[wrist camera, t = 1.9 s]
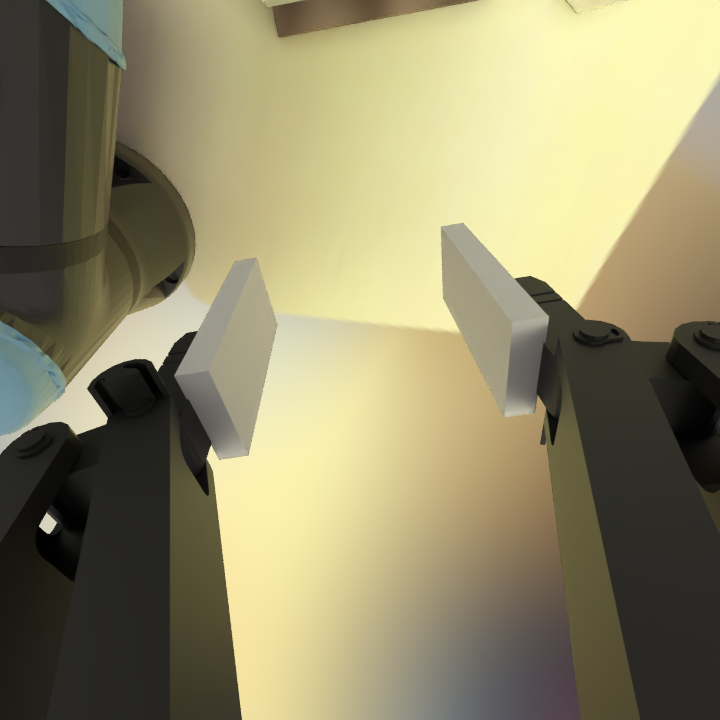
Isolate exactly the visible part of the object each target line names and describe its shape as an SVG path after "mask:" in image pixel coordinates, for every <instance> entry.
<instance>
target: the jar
mask: <svg viewBox="0 0 720 720" xmlns="http://www.w3.org/2000/svg"><path fill="white" fill-rule="evenodd" d="M567 1H568V3H569V4H570V5H571V6H572V8H573V9H574V10H575V11H576V12H577V13H583V12H587V11H591V10H594V9H598V8H602V7H606V6H609V5H613V4H617V3H621V2H624V1H628V0H567Z"/></svg>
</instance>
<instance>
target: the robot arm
mask: <svg viewBox="0 0 720 720" xmlns="http://www.w3.org/2000/svg"><path fill="white" fill-rule="evenodd" d="M122 26H123V0H0V436H1V435H5V434H11V433H14V432H16V431H18V430H20V429H22V428H23V427H25V426H26V425H28V424H29V423H30V422H32V421H33V420H34V419H35V418H36V417H37V416H38V415H39V414H40V413H41V412H42V411H44V410H45V409H46V408H47V407H48V406H49V405H50V404H51V403H53V402H55V401H56V400H57V399H59V398H60V397H61V396H62V394H63V393H64V392H65V387H66V386H67V385H68V384H69V383H70V382H71V381H72V379H73V378H74V377H75V376H76V374H77V373H78V372H79V371H80V370H81V369H82V367H83V366H84V365H85V364H86V362H87V361H88V360H89V359H90V358H91V357H92V356H93V354H94V353H95V352H96V351H97V350H98V348H99V347H100V346H101V345H102V344H103V343H104V341H105V340H106V339H107V338H108V337H109V336H110V334H111V333H112V332H113V331H114V329H116V327H117V326H118V325H119V324H120V323H121V321H122V320H123V319H124V318H125V316H126V315H129V314H131V313H134V312H137V311H140V310H143V309H146V308H148V307H151V306H154V305H156V304H158V303H160V302H162V301H163V300H164V299H166V298H167V297H169V296H170V295H171V294H172V293H173V292H174V291H175V290H176V289H177V288H178V287H179V285H180V284H181V283H182V281H183V280H184V279H185V277H186V276H187V274H188V272H189V270H190V268H191V265H192V262H193V258H194V252H195V236H194V230H193V225H192V222H191V218H190V216H189V213H188V211H187V208H186V206H185V204H184V202H183V200H182V199H181V197H180V195H179V194H178V192H177V191H176V189H175V188H174V187H173V185H172V184H171V183H170V182H169V180H168V179H167V178H166V177H165V176H164V175H163V174H162V173H161V172H160V171H159V170H158V169H157V168H156V167H155V166H154V165H153V164H151V163H150V162H149V161H148V160H146V159H145V158H144V157H142V156H141V155H139V154H138V153H136V152H135V151H133V150H131V149H130V148H128V147H126V146H124V145H122V144H120V143H117V142H116V131H117V119H118V108H119V97H120V86H121V75H122V70H125V71H126V59H125V57H124V55H123V53H122ZM441 245H442V279H443V299H444V301H445V303H446V305H447V307H448V309H449V311H450V313H451V314H452V316H453V318H454V320H455V322H456V324H457V326H458V328H459V330H460V332H461V334H462V336H463V338H464V340H465V342H466V344H467V346H468V348H469V350H470V352H471V353H472V355H473V357H474V359H475V361H476V363H477V365H478V367H479V369H480V371H481V373H482V375H483V377H484V379H485V381H486V383H487V385H488V387H489V389H490V391H491V393H492V395H493V396H494V399H495V401H496V402H497V405H498V406H499V408H500V410H501V412H502V414H503V416H504V417H510V416H517V415H524V414H531V413H535V409H536V402H537V396H539V397H540V399H541V400H542V402H543V404H544V405H545V406H546V413H545V419H544V425H543V430H542V436H541V442H540V444H542V445H545V443H547V451H548V459H549V468H550V475H551V484H552V492H553V500H554V508H555V516H556V525H557V532H558V541H559V549H560V557H561V564H562V572H563V581H564V589H565V598H566V605H567V614H568V621H569V630H570V638H571V646H572V654H573V662H574V671H575V679H576V687H577V695H578V703H579V711H580V719H581V720H720V322H717V323H716V322H713V321H705V322H690V323H686V324H682V325H680V326H679V327H677V328H676V329H675V330H674V333H673V336H672V339H671V341H670V342H640V341H639V342H638V341H631V340H630V337H629V336H628V335H627V333H626V332H625V331H624V330H622V329H621V328H619V327H617V326H615V325H613V324H609V323H606V322H602V321H595V320H585V319H584V318H583V317H582V316H581V315H580V314H579V313H578V312H576V311H575V310H574V309H573V308H572V307H571V306H570V305H569V304H568V303H567V302H566V301H565V300H562V297H561V296H560V295H558V294H557V293H555V291H554V290H553V289H552V288H551V287H550V286H549V285H548V284H547V283H546V282H544V281H541V280H539V279H536V278H534V277H532V276H528V277H521V278H515V279H514V278H513V277H512V276H511V275H510V274H509V273H508V271H507V270H506V269H505V268H504V267H503V266H502V265H501V264H500V263H499V262H498V261H497V259H496V258H495V257H494V256H493V255H492V254H491V253H490V252H489V251H488V250H487V249H486V247H485V246H484V245H483V244H482V243H481V242H480V241H479V240H478V239H477V238H476V237H475V236H474V234H473V233H472V232H471V231H470V230H469V229H468V228H467V227H466V226H465V225H464V224H463V223H460V224H454V225H448V226H442V227H441ZM276 328H277V322H276V319H275V316H274V312H273V309H272V306H271V303H270V300H269V296H268V293H267V290H266V287H265V284H264V281H263V277H262V274H261V271H260V268H259V265H258V261H257V258H252V259H246V260H240V261H235V262H234V264H233V266H232V268H231V270H230V272H229V274H228V276H227V277H226V279H225V281H224V283H223V285H222V287H221V289H220V291H219V293H218V294H217V296H216V298H215V300H214V302H213V304H212V306H211V308H210V309H209V312H208V313H207V315H206V317H205V319H204V321H203V323H202V325H201V327H200V328H199V330H198V331H196V332H190V333H186V334H185V335H184V336H183V337H182V338H180V339H179V340H178V341H177V342H176V343H174V345H173V347H172V348H171V350H170V352H169V354H168V356H167V357H166V359H165V360H164V362H163V365H162V366H161V367H160V369H159V370H158V372H157V370H156V369H155V367H154V365H153V364H152V362H151V361H148V360H146V359H135V360H130V361H126V362H123V363H120V364H118V365H115V366H113V367H111V368H109V369H107V370H106V371H104V372H102V373H101V374H99V375H98V376H97V377H96V378H95V379H94V380H93V381H92V382H91V383H90V385H89V386H88V388H87V389H88V391H89V392H90V393H91V395H92V396H93V398H94V399H95V400H96V402H97V403H98V404H99V406H100V407H101V409H102V410H103V412H104V413H105V414H106V416H107V417H108V420H107V424H106V425H103V426H100V427H98V428H95V429H92V430H89V431H86V432H84V433H81V434H78V435H76V434H75V433H74V432H73V431H72V429H71V428H70V427H69V426H68V424H65V423H62V422H54V423H48V424H45V425H42V426H37V427H35V428H33V429H31V430H29V431H27V432H25V433H23V434H22V435H21V436H20V437H19V438H17V439H16V440H14V441H13V442H12V443H11V444H10V445H9V446H8V447H7V448H6V449H5V450H4V451H3V452H2V453H1V455H0V720H242V717H241V708H240V700H239V692H238V683H237V675H236V666H235V657H234V649H233V640H232V631H231V623H230V614H229V605H228V598H227V588H226V580H225V572H224V563H223V554H222V545H221V538H220V529H219V520H218V511H217V503H216V494H215V486H214V477H213V471H212V468H211V466H210V464H209V462H208V461H207V459H206V458H207V455H208V452H209V449H210V446H211V445H212V447H213V449H214V451H215V453H216V455H217V457H218V458H219V460H221V459H228V458H234V457H240V456H247V455H249V450H250V446H251V441H252V437H253V432H254V428H255V423H256V419H257V414H258V410H259V405H260V400H261V396H262V392H263V386H264V383H265V378H266V373H267V369H268V364H269V360H270V355H271V351H272V347H273V342H274V337H275V333H276ZM46 512H47V513H48V514H49V515H50V516H51V517H52V518H53V519H54V520H55V521H56V522H57V524H56V526H55V528H54V529H53V531H52V532H51V533H50V534H47V533H46V532H44V531H43V530H42V529H41V528H40V527H39V525H40V523H41V521H42V519H43V518H44V516H45V514H46Z"/></svg>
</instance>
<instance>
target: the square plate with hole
mask: <svg viewBox="0 0 720 720" xmlns="http://www.w3.org/2000/svg"><path fill="white" fill-rule="evenodd" d="M261 1H262V2H263V4H264V5H265V6H266V7H272V6H277V5H282V4H287V3H293V2H298V1H303V0H261Z"/></svg>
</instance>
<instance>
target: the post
mask: <svg viewBox="0 0 720 720" xmlns="http://www.w3.org/2000/svg"><path fill="white" fill-rule="evenodd" d="M471 1H476V0H303V1H298V2H293V3H287V4H282V5H277V6H273V11H274V16H275V21H276V26H277V30H278V35H279V37H285V36H291V35H296V34H301V33H307V32H312V31H317V30H322V29H328V28H333V27H338V26H344V25H349V24H354V23H360V22H365V21H370V20H376V19H381V18H386V17H391V16H397V15H402V14H407V13H413V12H418V11H423V10H429V9H434V8H439V7H445V6H450V5H455V4H460V3H466V2H471Z"/></svg>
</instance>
